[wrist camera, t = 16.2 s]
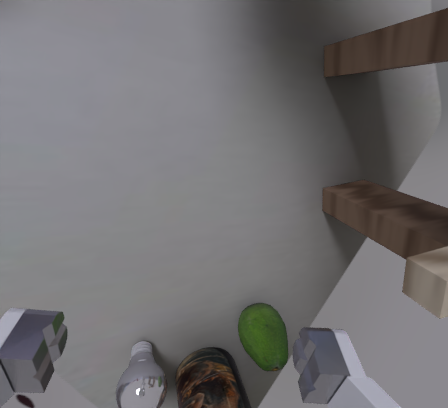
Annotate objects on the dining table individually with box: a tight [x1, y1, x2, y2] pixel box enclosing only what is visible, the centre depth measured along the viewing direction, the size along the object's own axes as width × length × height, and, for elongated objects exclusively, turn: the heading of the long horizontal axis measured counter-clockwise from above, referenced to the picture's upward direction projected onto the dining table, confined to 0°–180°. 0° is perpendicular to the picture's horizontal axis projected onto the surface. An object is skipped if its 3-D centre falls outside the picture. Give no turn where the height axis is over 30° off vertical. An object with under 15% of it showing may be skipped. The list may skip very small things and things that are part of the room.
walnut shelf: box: [323, 8, 448, 260], centre depth 34 cm, size 10×26×26 cm, turn 7°
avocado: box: [238, 303, 288, 371], centre depth 47 cm, size 8×8×12 cm
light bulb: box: [116, 341, 167, 408], centre depth 43 cm, size 7×7×12 cm
